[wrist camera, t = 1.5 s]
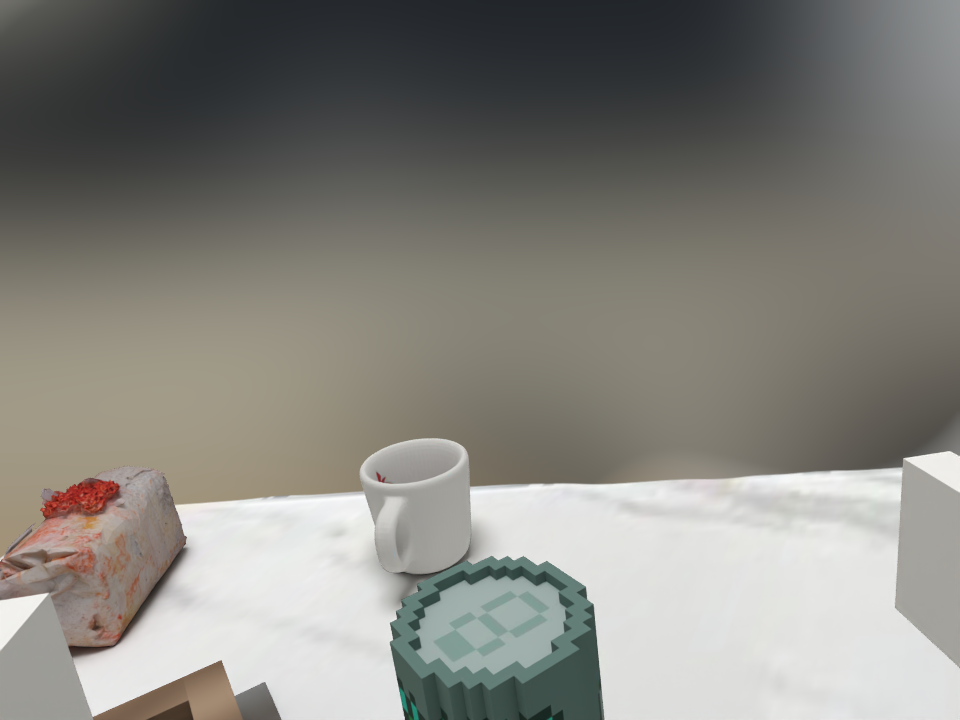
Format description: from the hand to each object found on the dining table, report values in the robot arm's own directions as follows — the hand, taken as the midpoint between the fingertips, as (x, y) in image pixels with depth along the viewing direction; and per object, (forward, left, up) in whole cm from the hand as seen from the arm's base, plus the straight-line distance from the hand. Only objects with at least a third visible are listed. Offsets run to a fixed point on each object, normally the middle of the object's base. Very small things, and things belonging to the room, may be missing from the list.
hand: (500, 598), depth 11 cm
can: (+8, -4, -22) cm, 24 cm away
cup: (+34, -12, -22) cm, 43 cm away
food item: (+47, +8, -22) cm, 52 cm away
